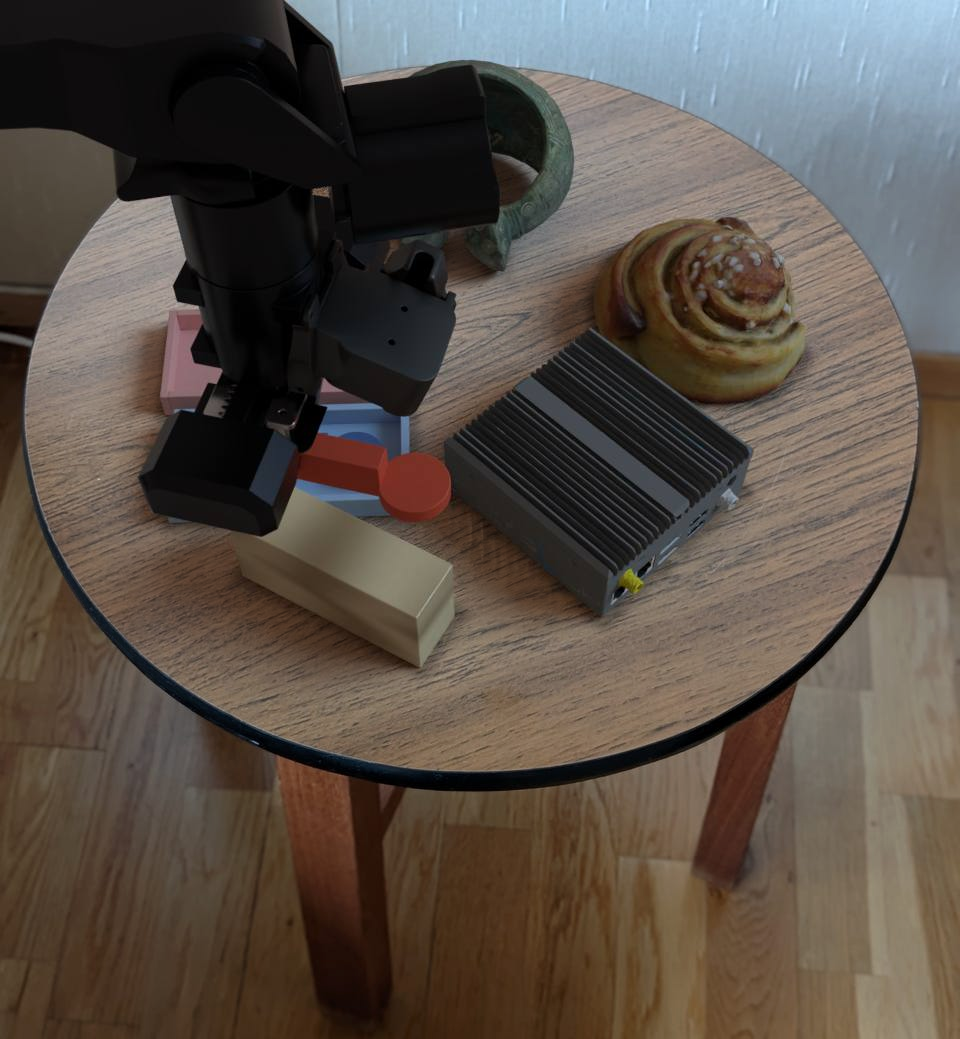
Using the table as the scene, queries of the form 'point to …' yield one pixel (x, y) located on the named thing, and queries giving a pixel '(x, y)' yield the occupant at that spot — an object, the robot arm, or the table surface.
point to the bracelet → (516, 157)
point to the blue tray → (355, 419)
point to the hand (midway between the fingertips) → (294, 456)
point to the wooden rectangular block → (353, 576)
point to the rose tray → (206, 368)
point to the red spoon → (380, 476)
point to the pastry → (702, 309)
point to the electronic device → (596, 469)
